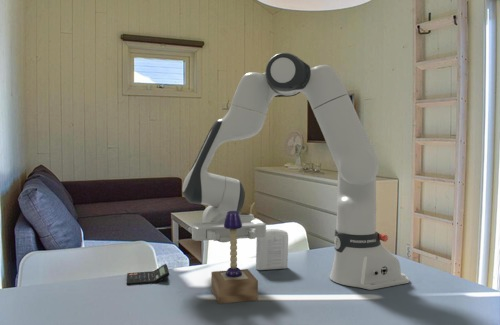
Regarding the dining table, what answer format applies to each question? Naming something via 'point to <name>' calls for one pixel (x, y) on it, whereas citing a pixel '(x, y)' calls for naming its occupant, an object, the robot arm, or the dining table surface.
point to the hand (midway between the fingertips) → (235, 236)
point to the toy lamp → (233, 241)
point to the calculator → (148, 276)
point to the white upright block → (272, 250)
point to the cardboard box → (234, 287)
